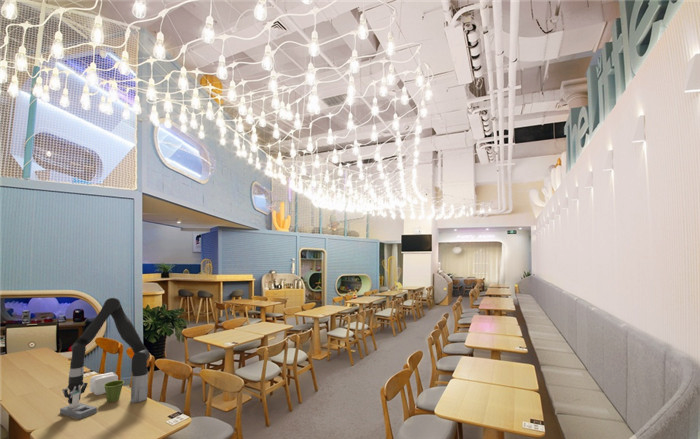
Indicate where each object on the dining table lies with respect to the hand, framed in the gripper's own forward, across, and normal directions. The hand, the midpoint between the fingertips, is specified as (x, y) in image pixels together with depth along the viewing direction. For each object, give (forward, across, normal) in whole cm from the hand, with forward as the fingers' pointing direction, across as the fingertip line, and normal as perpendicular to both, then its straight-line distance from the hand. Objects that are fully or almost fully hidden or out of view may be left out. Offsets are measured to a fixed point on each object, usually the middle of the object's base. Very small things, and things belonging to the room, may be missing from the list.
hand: (74, 402), depth 220 cm
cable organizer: (+6, +28, +16) cm, 33 cm away
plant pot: (+6, +21, -6) cm, 23 cm away
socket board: (+6, 0, -5) cm, 8 cm away
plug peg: (+4, 0, 0) cm, 4 cm away
